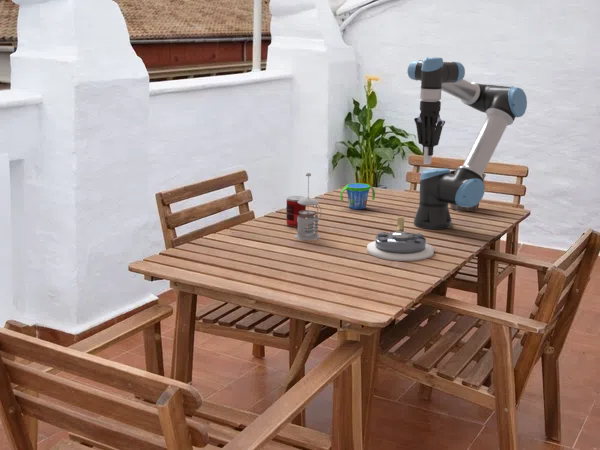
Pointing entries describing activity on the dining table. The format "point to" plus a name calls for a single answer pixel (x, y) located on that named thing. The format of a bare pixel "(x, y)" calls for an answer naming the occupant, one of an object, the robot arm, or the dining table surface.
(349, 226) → the dining table surface
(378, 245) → the grey round piece
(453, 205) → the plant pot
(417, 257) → the housing plate
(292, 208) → the canned food
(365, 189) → the snack cup
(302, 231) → the french press
